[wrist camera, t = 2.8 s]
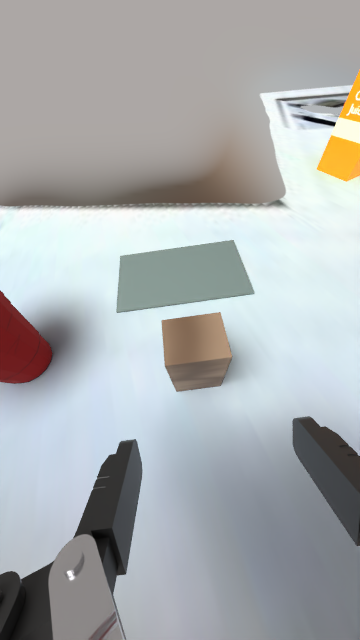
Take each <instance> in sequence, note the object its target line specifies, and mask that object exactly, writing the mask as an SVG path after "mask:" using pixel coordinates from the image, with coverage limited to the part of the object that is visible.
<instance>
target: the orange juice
mask: <svg viewBox="0 0 360 640" xmlns="http://www.w3.org/2000/svg"><path fill="white" fill-rule="evenodd" d="M317 170H320V171H322V172H324V173H327V174H329V175H332V176H334V177H336V178H339V179H341V180H344V181H348V180H350V179H353V178H355V177H357V176H359V175H360V71H359V73H358V75H357V77H356V80H355V82H354V84H353V87H352V89H351V91H350V94H349V96H348V98H347V100H346V103H345V105H344V108H343V110H342V112H341V114H340V117H339V118H338V120H337V123H336V125H335V127H334V130H333V132H332V134H331V137H330V140H329V142H328V144H327V147H326V149H325V151H324V153H323V156H322V158H321V160H320V163H319V165H318V167H317Z"/></svg>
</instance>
